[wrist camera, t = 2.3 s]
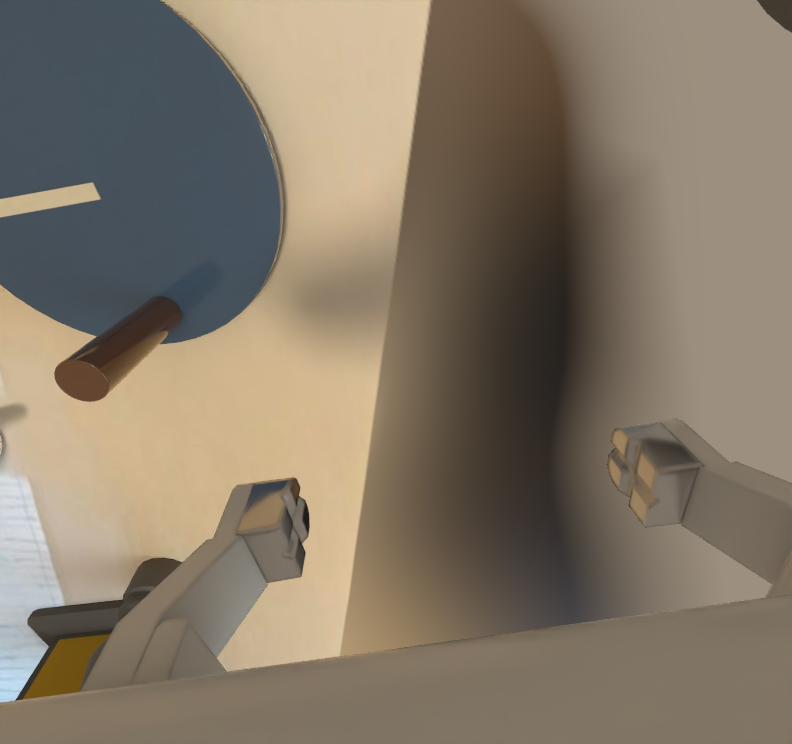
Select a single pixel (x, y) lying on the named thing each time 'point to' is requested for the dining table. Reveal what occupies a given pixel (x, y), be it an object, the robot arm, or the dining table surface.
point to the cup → (0, 444)
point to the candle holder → (137, 594)
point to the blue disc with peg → (128, 181)
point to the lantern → (68, 645)
